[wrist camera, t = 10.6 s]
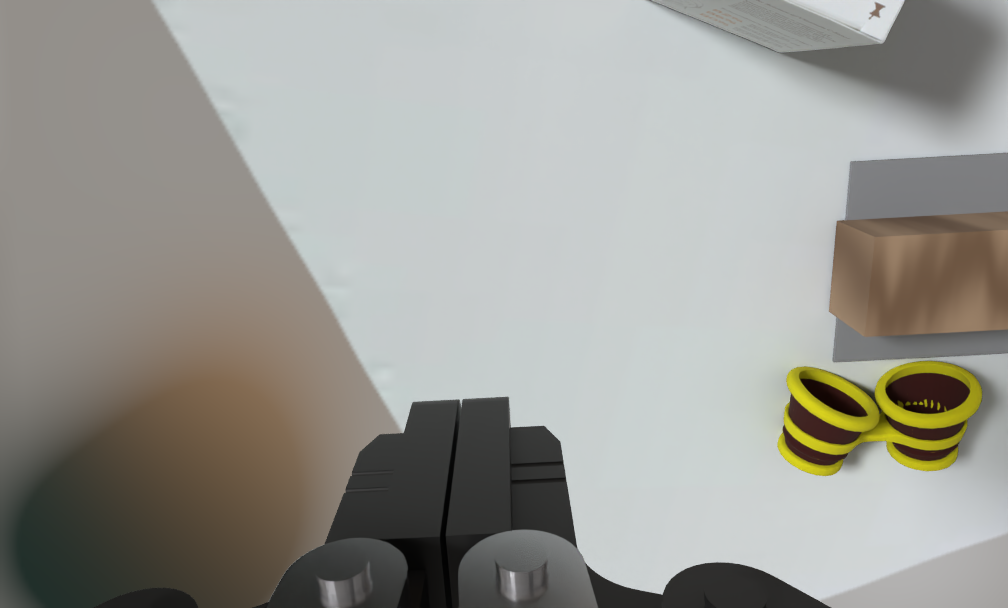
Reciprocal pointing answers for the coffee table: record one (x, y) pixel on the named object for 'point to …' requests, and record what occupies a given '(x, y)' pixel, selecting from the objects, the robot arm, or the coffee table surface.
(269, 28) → the coffee table surface
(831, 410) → the opera glasses
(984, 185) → the mat
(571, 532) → the robot arm
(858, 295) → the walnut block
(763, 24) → the small box
